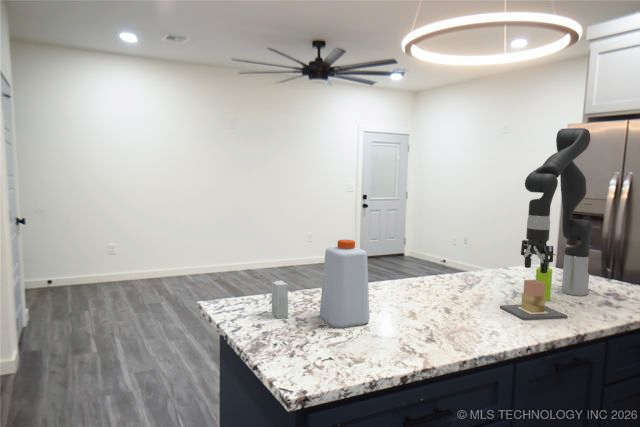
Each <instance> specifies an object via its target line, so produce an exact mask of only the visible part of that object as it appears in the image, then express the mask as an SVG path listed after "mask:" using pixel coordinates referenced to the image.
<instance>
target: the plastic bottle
mask: <svg viewBox="0 0 640 427" xmlns="http://www.w3.org/2000/svg"><path fill="white" fill-rule="evenodd" d="M324 252H325V253H324V263H323V272H322V273H323V275H322V282H321V283H322V285H321V297H320V306H319V307H320V308H319V316H320V318H321V319H322V320H324V321H325V322H326V323H328V324H329V325H330V326H332V327H334V328H347V327H348V328H349V327H355V326H362V325H365V324H366V325H367V323H369V322H370V297H369V296H370V294H369V271H368V270H369V268H368V267H369V266H368V252H367V251H366V250H364V249H362V248H359V247H356V241H355V240H352V239H339V240H337V246H332V247H331V246H329V247H328V248H326V249H325V251H324Z"/></svg>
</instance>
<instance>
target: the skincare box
mask: <svg viewBox="0 0 640 427" xmlns="http://www.w3.org/2000/svg"><path fill="white" fill-rule="evenodd" d="M270 286H271V314H272V315H273V316H274V317H275V318H276V319H278V320H279V319H280V320H281V319H286V318H288V317H289V291H288V290H289V289H288V288H289V287H288V283H286V282H284V280H281V279H280V280H274V281H271V285H270Z"/></svg>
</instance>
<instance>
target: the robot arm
mask: <svg viewBox="0 0 640 427" xmlns="http://www.w3.org/2000/svg"><path fill="white" fill-rule="evenodd" d="M555 142H556V152H555V153H553V154H551V155H550V156H549V157H548V158H547V159H546V160H545V161H544V163H543V164H542V165H541V166H539V167H538V168H536V169H534V170H533V171H532V172H530V173H529V174H528V175H527V176H526V178H525V180H524V188H525V190H526V191H527V192H530V193H537V194H538V193H539V194H541V193H542V195H541V197H540V198H535V199H534V198H533V199H531V200H530V201H529V203H528V216H527V220H526V221H527V222H526V233H525V236H526V239H523V240H522V241H521V247H520V249H521V250H520V255H521V256H523V258H524V268H525V269H530V268H531V267H532V257H533V255H535V256H537V258H539V260H541V269H540V272H541V273H547V270H548V263H549V264H551V263H553V262H554V255H553V254H554V246H553V245H548V244H547V242H548V241H549V240H550V229H551V217H550V216H551V206H552V202H553V198H554V196H555V193H556V191H557V187H558V184H559V182H558V181H559V180H558V178H559V177H560V194H561V205H562V206H561V208H562V218H561V219H562V221H561V222H562V226H561V228H562V230H561V232H562V236H563V238H564V239H567V240H573V241H580V242H579V244H577V245H572V246H568V247H566V248H564V255H563V257H564V258H563V268H562V280H561V283H562V284H561V292H562V293H563V294H566V295H571V296H578V297H579V296H581V297H583V296H586V295H588V293H589V282H590V272H588V271H589V270H588V269H589V258H590V257H589V256H590V248H591V246H590V245H591V240H592V233H593V223H592V221H591V220H588V219H578V218H577V219H576V218H573V213H574V211H575V210H576V208H577V207H578V206H579V205H580V203H581V202H582V201H583V200H584V198H585V197H586V195H587V179H586V177H585V175H584V173H583V172H582V170H580V168H579V167H578V166H577V165H576V163H575V161H574V160H575V159H576V158H578V157H579V156H580V155H581V154H583V152H585V151H586V150H587V149H588V148H589V146H590V143H591V133H590V130H589V129H587V128H583V127H577V128H576V127H574V128H573V127H571V128H569V127H567V128H560V129H558V132H557V134H556V138H555ZM543 253H544V254H543ZM543 258H545V260H544V259H543Z"/></svg>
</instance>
